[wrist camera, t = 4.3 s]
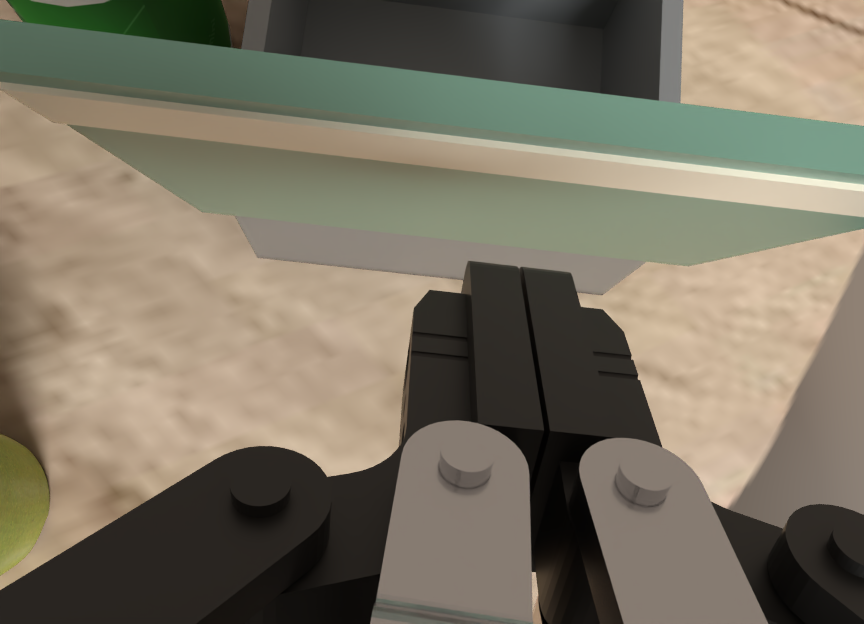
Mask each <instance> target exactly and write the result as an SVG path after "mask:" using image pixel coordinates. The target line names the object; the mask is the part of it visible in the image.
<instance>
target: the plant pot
mask: <svg viewBox="0 0 864 624" xmlns="http://www.w3.org/2000/svg"><path fill="white" fill-rule="evenodd" d="M49 501H50V499H49V488H48V483H47V479H46V476H45V474H44V471H43V469H42V467H41V465H40V464H39V462H38V461H37V459H36V458H35V457H34V455H33V454H32V453H31V452H30V451H29V450H28V449H27V448H26V447H25V446H23V445H22V444H20V443H18V442H17V441H15V440H13V439H11V438H9V437H7V436H5V435H2V434H0V576H1V575H2V574H4V573H5V572H7V571H8V570H10V569H11V568H12V567H14V566H15V565H17V564H18V563H19V562H20V561H21V560H22V559H24V558H25V557H26V556H27V554H28V553H29V552H30V551H31V549H32V548H33V546H34V544H35V543H36V541H37V539H38V537H39V535H40V533H41V531H42V528H43V526H44V523H45V520H46V518H47V516H48V511H49Z"/></svg>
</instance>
